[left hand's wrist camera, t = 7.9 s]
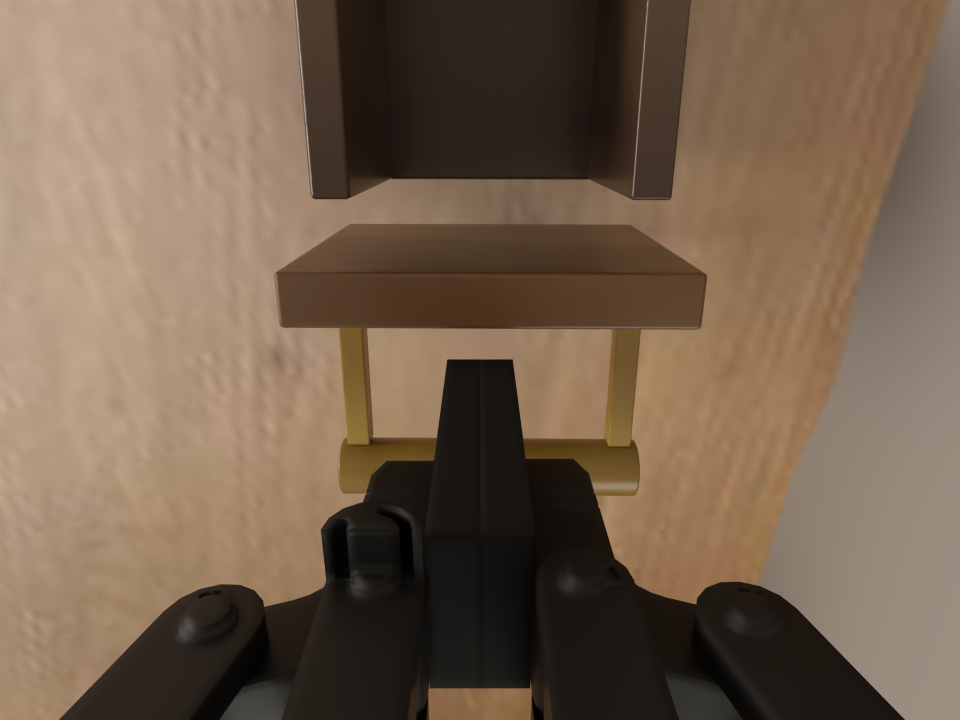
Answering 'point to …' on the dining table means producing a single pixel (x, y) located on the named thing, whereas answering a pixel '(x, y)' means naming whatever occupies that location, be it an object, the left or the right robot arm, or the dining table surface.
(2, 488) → the dining table surface
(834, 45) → the dining table surface
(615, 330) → the drawer
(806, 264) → the dining table surface
